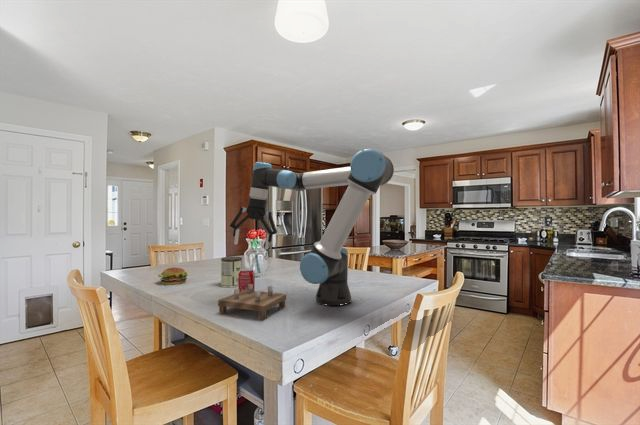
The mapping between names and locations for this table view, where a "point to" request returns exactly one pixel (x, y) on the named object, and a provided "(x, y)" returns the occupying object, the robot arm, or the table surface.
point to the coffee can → (230, 271)
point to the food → (173, 276)
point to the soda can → (246, 279)
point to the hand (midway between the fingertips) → (251, 246)
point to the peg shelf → (252, 301)
